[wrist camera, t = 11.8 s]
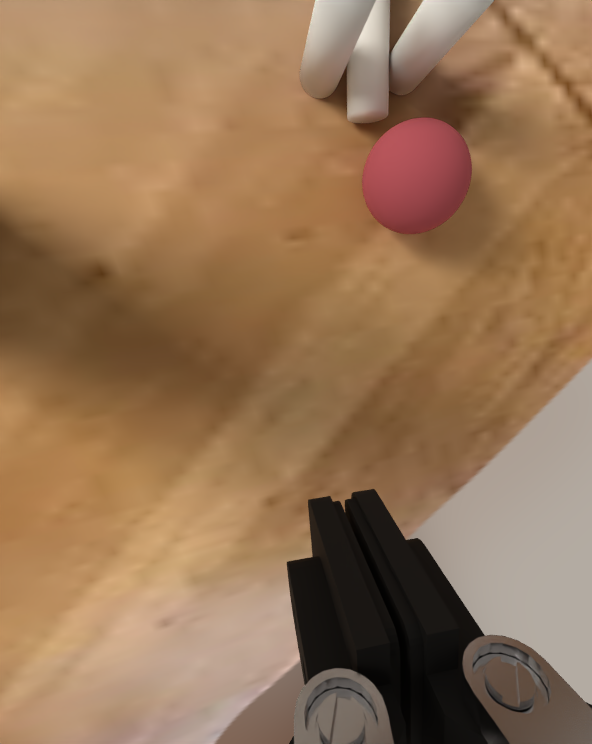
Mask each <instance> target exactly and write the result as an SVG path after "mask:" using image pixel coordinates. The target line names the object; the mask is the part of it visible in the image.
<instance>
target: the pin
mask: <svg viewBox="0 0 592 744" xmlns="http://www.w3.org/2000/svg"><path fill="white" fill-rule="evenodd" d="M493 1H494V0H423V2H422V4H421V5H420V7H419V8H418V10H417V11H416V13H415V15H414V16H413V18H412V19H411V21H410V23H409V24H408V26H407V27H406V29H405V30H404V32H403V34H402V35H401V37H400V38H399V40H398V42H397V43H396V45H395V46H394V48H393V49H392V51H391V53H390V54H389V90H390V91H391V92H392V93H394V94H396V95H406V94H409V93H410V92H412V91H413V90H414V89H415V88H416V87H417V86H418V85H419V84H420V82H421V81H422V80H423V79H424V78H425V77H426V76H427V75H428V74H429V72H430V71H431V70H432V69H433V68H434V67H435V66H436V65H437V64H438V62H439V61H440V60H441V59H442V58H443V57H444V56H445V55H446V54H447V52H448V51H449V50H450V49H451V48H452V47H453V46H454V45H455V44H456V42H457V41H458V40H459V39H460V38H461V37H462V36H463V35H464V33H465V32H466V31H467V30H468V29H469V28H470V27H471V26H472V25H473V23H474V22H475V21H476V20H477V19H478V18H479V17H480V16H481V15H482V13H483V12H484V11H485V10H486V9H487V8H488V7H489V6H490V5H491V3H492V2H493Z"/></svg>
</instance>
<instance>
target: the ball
mask: <svg viewBox="0 0 592 744" xmlns="http://www.w3.org/2000/svg"><path fill="white" fill-rule="evenodd" d="M471 173H472V164H471V157H470V153H469V150H468V147H467V145H466V143H465V141H464V139H463V138H462V136H461V135H460V134H459V133H458V132H457V131H456V130H455V129H454V128H453V127H452V126H450V125H449V124H447V123H445V122H443V121H441V120H438V119H434V118H414V119H410V120H406V121H404V122H401V123H399V124H397V125H396V126H394V127H392V128H391V129H389V130H388V131H387V132H386V133H384V135H383V136H382V137H381V138H380V139H379V140H378V141H377V142H376V144H375V145H374V146H373V148H372V150H371V151H370V153H369V156H368V158H367V161H366V164H365V167H364V171H363V179H362V187H363V194H364V198H365V202H366V205H367V207H368V209H369V211H370V212H371V214H372V215H373V217H374V218H375V219H376V220H377V221H378V222H379V223H381V224H382V225H383V226H384V227H386V228H388V229H390V230H392V231H395V232H398V233H403V234H416V233H422V232H426V231H429V230H431V229H434V228H436V227H437V226H439V225H441V224H442V223H444V222H445V221H446V220H448V219H449V218H450V217H451V216H452V215H453V214H454V213H455V212H456V210H457V209H458V208H459V206H460V205H461V203H462V202H463V200H464V198H465V196H466V194H467V191H468V188H469V185H470V181H471Z"/></svg>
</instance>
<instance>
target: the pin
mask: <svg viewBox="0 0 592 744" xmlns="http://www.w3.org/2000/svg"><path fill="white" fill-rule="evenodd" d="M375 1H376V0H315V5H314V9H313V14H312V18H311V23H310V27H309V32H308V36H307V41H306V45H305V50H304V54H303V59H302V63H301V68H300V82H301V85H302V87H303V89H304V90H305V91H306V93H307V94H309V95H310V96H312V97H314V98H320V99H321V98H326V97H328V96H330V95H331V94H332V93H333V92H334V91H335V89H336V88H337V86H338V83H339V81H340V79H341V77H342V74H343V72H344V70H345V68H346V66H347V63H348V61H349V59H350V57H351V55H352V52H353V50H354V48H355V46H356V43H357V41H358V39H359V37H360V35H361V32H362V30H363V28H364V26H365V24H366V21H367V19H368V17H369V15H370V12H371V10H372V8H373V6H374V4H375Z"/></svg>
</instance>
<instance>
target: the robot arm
mask: <svg viewBox="0 0 592 744" xmlns="http://www.w3.org/2000/svg"><path fill="white" fill-rule="evenodd" d="M308 508H309V519H310V531H311V542H312V553H313V557H311V558H305V559H300V560H294V561H289V562H287V570H288V579H289V588H290V596H291V603H292V610H293V617H294V624H295V630H296V636H297V642H298V648H299V654H300V660H301V666H302V671H303V677H304V684H305V686H304V687H303V689H302V691H301V693H300V695H299V697H298V699H297V702H296V708H295V715H294V736H293V738H292V740H291V741H290V743H289V744H592V705H590V704H588V703H586V702H585V701H584V700H583V699H582V698H581V697H580V696H579V695H578V694H577V693H576V692H575V691H574V690H573V689H572V688H571V687H570V685H569V684H567V682H566V681H565V680H564V679H563V678H562V677H561V676H560V675H559V674H558V673H557V672H556V671H555V670H554V669H553V668H552V667H551V665H550V664H549V663H547V661H546V660H545V659H544V658H542V657H541V656H540V655H539V654H538V653H537V652H536V651H534V650H533V649H532V648H530V647H528V646H527V645H525V644H523V643H521V642H520V641H518V640H514V639H512V638H509V637H506V636H498V635H487V636H485V635H484V634H483V632H482V631H481V629H480V628H479V626H478V625H477V623H476V622H475V620H474V619H473V617H472V616H471V614H470V613H469V611H468V610H467V608H466V607H465V606H464V604H463V602H462V601H461V599H460V598H459V596H458V595H457V593H456V592H455V590H454V589H453V587H452V586H451V584H450V583H449V581H448V580H447V578H446V577H445V575H444V574H443V572H442V571H441V569H440V567H439V566H438V564H437V563H436V561H435V560H434V559H433V557H432V555H431V554H430V552H429V551H428V549H427V548H426V546H425V545H424V544H423V542H422V541H421V540H420V539H418V538H415V539H410V540H405V538H404V536H403V535H402V533H401V531H400V530H399V528H398V526H397V525H396V523H395V521H394V520H393V518H392V517H391V515H390V513H389V512H388V510H387V508H386V507H385V505H384V503H383V502H382V500H381V499H380V497H379V495H378V494H377V492H376V491H375V490H374V489H371V490H365V491H359V492H353V493H352V496H351V499H347V500H345V512H344V509H343V507H342V505H341V503H340V501H335V502H333V501H332V499H331V497H330V496H328V497H322V498H316V499H310V500H308Z"/></svg>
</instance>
